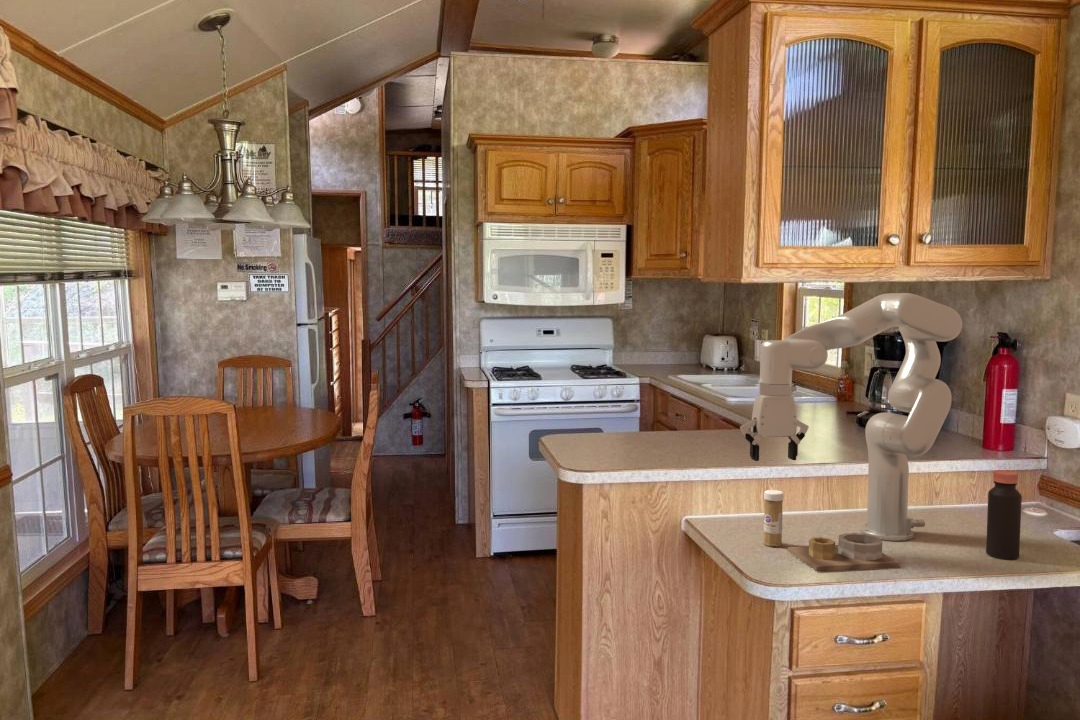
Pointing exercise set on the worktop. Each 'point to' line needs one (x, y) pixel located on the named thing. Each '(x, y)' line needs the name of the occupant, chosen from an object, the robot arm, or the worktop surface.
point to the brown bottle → (1004, 517)
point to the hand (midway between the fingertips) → (773, 459)
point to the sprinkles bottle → (773, 518)
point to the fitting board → (841, 561)
